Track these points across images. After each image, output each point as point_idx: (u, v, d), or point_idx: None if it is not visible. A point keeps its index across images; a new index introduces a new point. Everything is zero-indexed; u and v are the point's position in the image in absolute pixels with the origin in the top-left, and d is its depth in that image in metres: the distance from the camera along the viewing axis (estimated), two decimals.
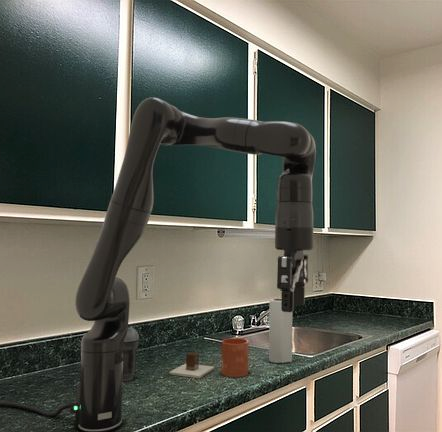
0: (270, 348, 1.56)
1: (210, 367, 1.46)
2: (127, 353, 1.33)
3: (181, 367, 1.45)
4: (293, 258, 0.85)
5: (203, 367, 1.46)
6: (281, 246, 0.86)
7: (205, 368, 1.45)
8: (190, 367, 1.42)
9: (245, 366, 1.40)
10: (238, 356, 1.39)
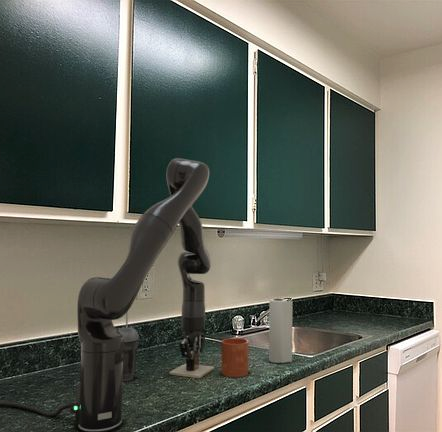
0: (270, 348, 1.56)
1: (210, 367, 1.46)
2: (127, 353, 1.33)
3: (181, 367, 1.45)
4: (189, 338, 1.40)
5: (204, 367, 1.46)
6: (183, 328, 1.42)
7: (205, 368, 1.45)
8: None
9: (245, 366, 1.40)
10: (238, 356, 1.39)
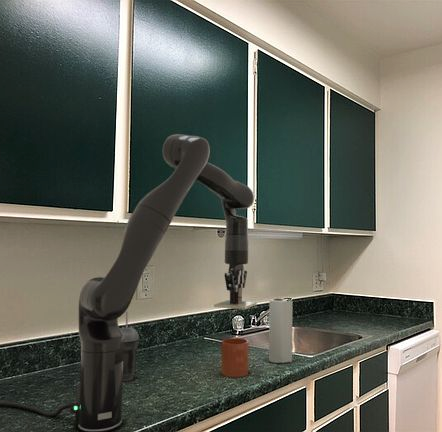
0: (270, 348, 1.56)
1: (253, 302, 1.46)
2: (127, 353, 1.33)
3: (224, 302, 1.46)
4: (234, 270, 1.40)
5: (246, 302, 1.46)
6: (227, 261, 1.42)
7: (248, 302, 1.45)
8: None
9: (245, 366, 1.40)
10: (238, 356, 1.39)
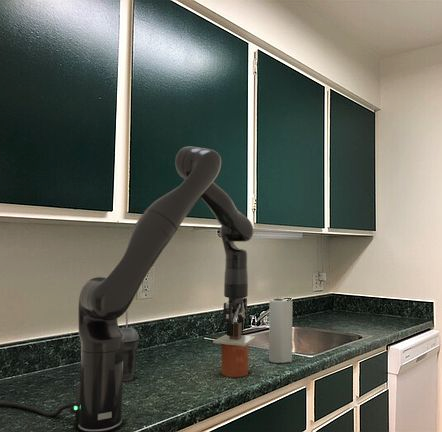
0: (270, 348, 1.56)
1: (252, 337, 1.46)
2: (127, 353, 1.33)
3: (224, 337, 1.45)
4: (233, 303, 1.40)
5: (246, 337, 1.46)
6: (227, 295, 1.41)
7: (248, 337, 1.45)
8: (234, 336, 1.42)
9: (245, 366, 1.40)
10: (238, 356, 1.39)
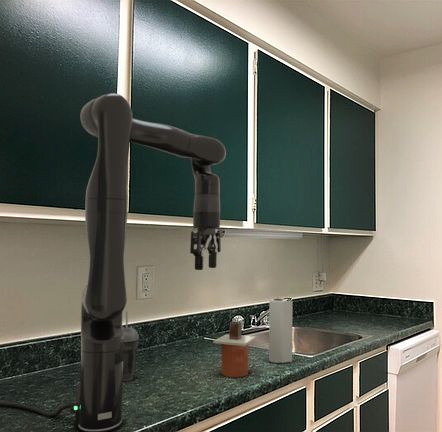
0: (270, 348, 1.56)
1: (252, 337, 1.46)
2: (127, 353, 1.33)
3: (224, 337, 1.45)
4: (203, 233, 1.23)
5: (246, 337, 1.46)
6: (196, 225, 1.24)
7: (248, 337, 1.45)
8: (234, 336, 1.42)
9: (245, 366, 1.40)
10: (238, 356, 1.39)
